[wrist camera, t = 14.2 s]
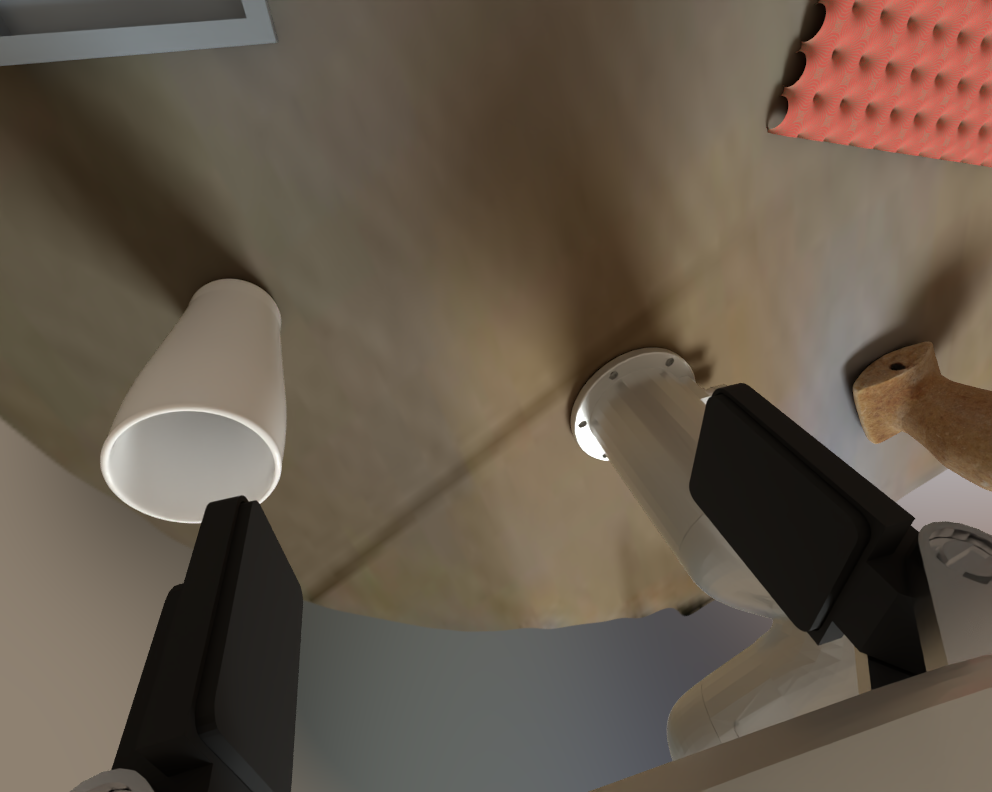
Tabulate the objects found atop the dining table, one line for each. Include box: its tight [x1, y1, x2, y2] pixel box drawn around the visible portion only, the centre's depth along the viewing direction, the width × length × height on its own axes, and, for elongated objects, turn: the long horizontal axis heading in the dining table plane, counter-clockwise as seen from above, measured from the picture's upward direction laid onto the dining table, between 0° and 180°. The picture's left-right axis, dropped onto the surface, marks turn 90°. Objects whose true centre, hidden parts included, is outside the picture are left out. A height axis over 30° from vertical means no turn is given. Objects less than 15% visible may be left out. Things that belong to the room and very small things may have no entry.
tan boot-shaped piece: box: [853, 342, 992, 491], centre depth 53 cm, size 15×12×15 cm
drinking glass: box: [100, 279, 287, 523], centre depth 27 cm, size 7×7×15 cm
